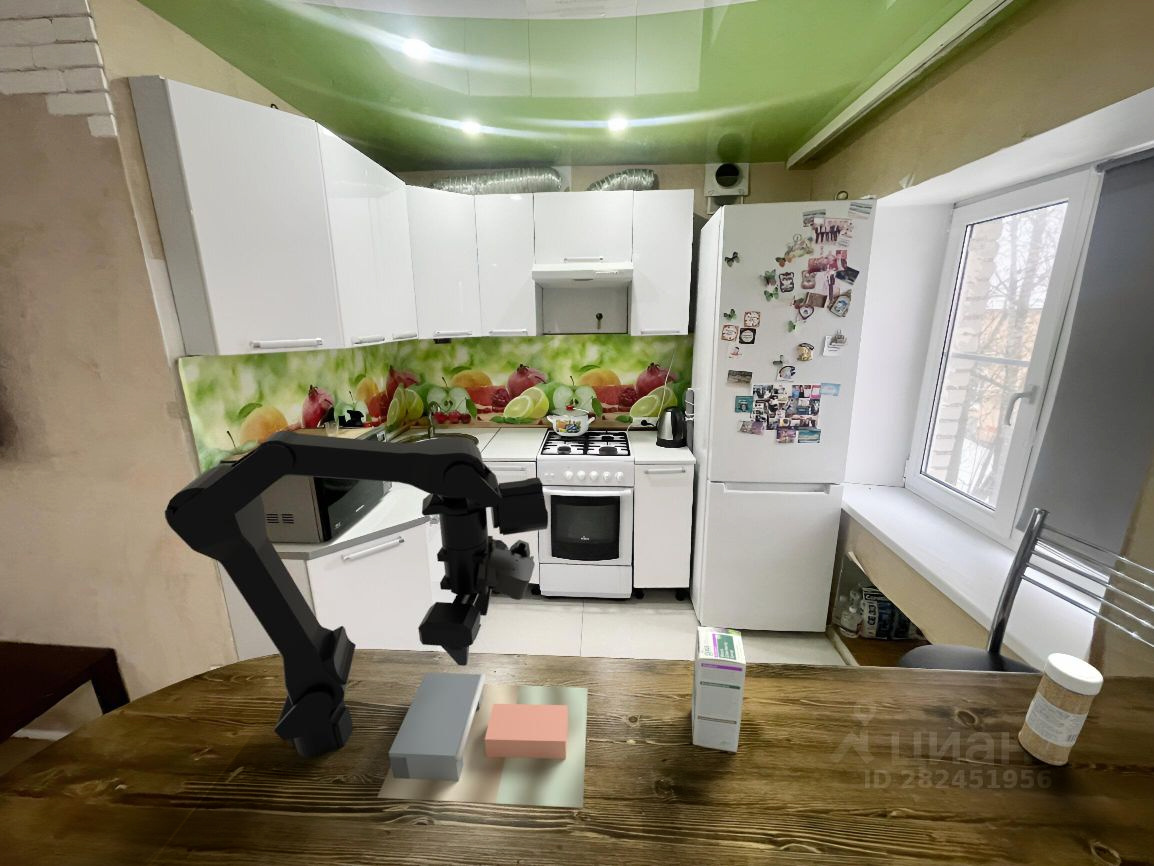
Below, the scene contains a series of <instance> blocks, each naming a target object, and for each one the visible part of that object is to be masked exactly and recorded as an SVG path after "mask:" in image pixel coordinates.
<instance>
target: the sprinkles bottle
mask: <svg viewBox="0 0 1154 866" xmlns="http://www.w3.org/2000/svg"><path fill="white" fill-rule="evenodd" d="M1043 668H1044V670H1043V671H1044V673H1043V674H1042V675H1043V676H1042V678H1041V680H1040V682H1039V685H1038V686H1037V689H1036V692H1035V694H1034V696H1033V699H1032V700H1031V703H1030V706H1029V708H1028V710H1027V713H1026V715H1025V721H1024V724H1023V725H1022V728H1021V730H1020V731H1019V732H1018V737H1017V738H1018V741H1019V742H1020V744H1021V745H1022V748H1024V749H1025V750H1026V751H1027V752H1028V753H1029V754H1030V755H1032V756H1033V757H1034V758H1036V759H1037V760H1040V761H1042V762H1044V763H1046V764H1049V765H1053V766H1063V765H1066V763H1067V762H1068V761H1069V759H1068V757H1069V754H1070V753H1071V750H1072V748H1073V746H1074V745H1075V743H1076V741H1077V739H1078V737H1079V734H1080V732H1081V730H1082V728H1083V726H1084V723H1085V722H1086V719H1087V716H1088V714H1089V712H1090V711H1089V710H1090V707H1091V706H1092V702H1093V700H1094V698H1095V697H1096V696H1097V695H1098V694H1099V692H1100V691H1101V689H1102V686H1103V684H1104V677H1103V675H1102V674H1101V672H1100V671H1099V670H1098V669H1096V667H1094V666H1092V665H1091V664H1089V663H1088V662H1086V661H1084V660H1082V659H1080V658H1078V657H1075V656H1072V655H1069V654H1064V653H1051V654H1049V655H1048V656H1047V659H1046V661H1045V664H1044V666H1043Z"/></svg>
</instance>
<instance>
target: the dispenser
mask: <svg viewBox="0 0 1154 866" xmlns="http://www.w3.org/2000/svg"><path fill="white" fill-rule="evenodd" d="M486 675H487V674H484V673H480V674H479V673H478V674H477V673H475V674H474V673H447V672H446V673H445V672H425V673H424V675H423V678H422V680H421V682H420V683H419V686H418V688H417V690H416V693H415V695H414V697H413V699H412V702H410V705H409V707H408V710H407V711H406V714H405V716H404V719H403V721H402V723H401V725H400V728H399V730H398V731H397V734H396V736H395V738H394V740H393V743H392V745H391V747H390V749H389V751H388V757H389V761H390V767H392V772H393V776H394V778H402V779H423V780H444V781H459V779H460V775H461V772H462V769H463V765H464V763H463V751H464V748H465V745H466V741H467V738H468V735H469V731H470V728H471V725H472V721H473V718H474V715H475V711H476V709H478V710H480V707H481V703H482V700H483V690H482V688H483V685H484V684H485V681H486V678H487V676H486Z"/></svg>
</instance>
